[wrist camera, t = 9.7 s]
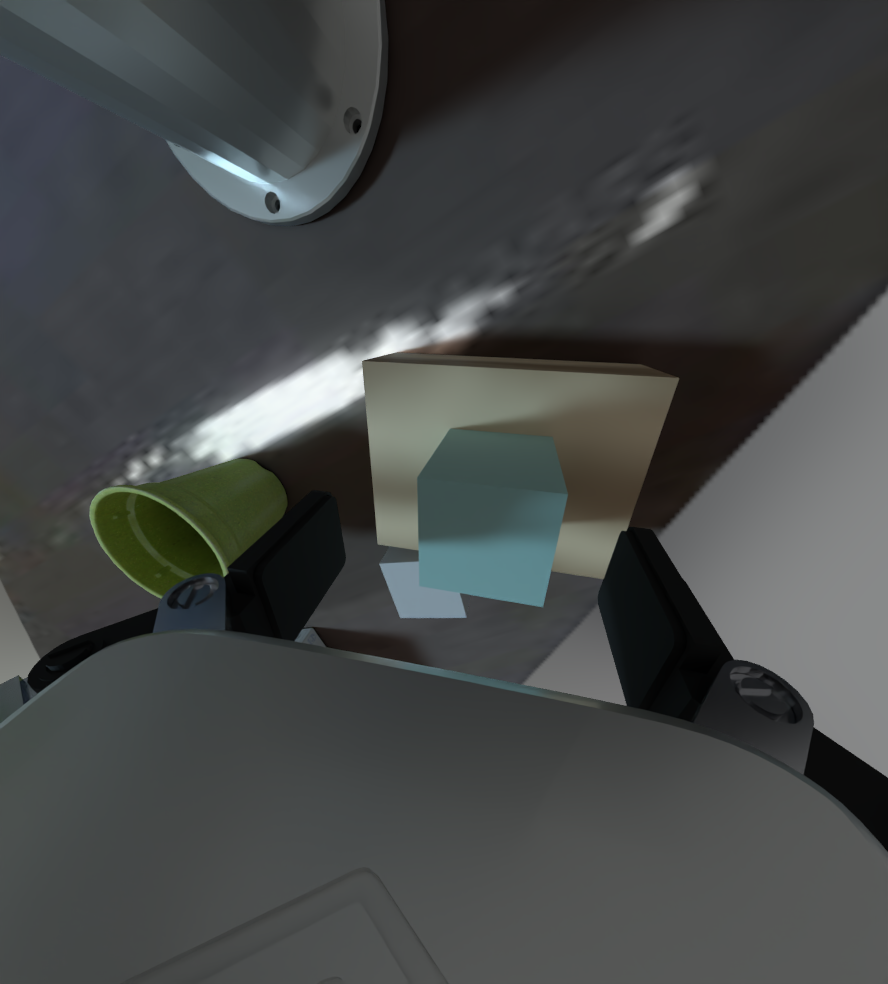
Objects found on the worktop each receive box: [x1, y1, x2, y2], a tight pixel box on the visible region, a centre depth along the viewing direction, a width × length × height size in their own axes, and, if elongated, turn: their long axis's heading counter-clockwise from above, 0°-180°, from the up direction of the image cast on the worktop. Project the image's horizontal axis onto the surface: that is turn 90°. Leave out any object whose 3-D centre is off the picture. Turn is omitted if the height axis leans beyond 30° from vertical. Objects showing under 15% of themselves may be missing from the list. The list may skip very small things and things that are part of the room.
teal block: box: [417, 428, 568, 607], centre depth 15 cm, size 5×5×6 cm
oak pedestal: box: [362, 353, 679, 579], centre depth 19 cm, size 11×14×5 cm
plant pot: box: [90, 459, 287, 599], centre depth 24 cm, size 9×9×9 cm
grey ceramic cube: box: [380, 546, 471, 618], centre depth 24 cm, size 5×5×5 cm
